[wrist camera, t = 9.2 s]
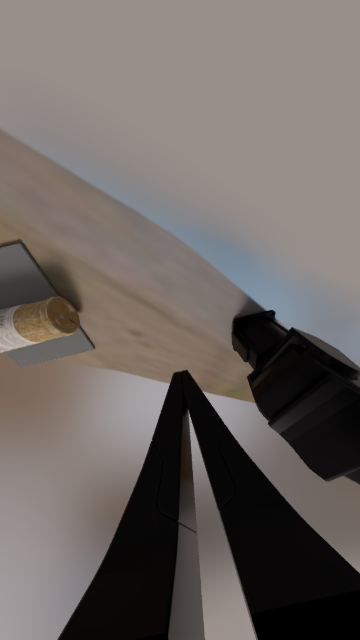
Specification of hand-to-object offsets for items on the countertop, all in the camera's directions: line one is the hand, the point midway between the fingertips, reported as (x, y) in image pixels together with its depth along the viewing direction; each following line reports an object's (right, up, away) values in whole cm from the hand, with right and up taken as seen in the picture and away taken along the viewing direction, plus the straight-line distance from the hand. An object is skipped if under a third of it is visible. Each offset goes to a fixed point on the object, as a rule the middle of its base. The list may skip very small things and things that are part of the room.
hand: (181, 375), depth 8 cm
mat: (-20, +4, +9) cm, 22 cm away
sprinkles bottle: (-12, +4, +7) cm, 15 cm away
